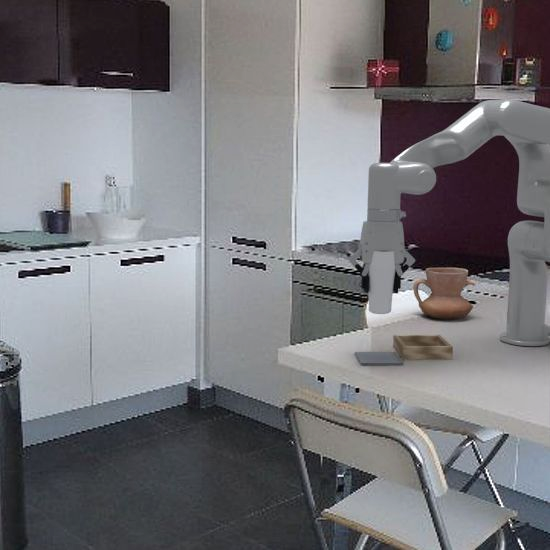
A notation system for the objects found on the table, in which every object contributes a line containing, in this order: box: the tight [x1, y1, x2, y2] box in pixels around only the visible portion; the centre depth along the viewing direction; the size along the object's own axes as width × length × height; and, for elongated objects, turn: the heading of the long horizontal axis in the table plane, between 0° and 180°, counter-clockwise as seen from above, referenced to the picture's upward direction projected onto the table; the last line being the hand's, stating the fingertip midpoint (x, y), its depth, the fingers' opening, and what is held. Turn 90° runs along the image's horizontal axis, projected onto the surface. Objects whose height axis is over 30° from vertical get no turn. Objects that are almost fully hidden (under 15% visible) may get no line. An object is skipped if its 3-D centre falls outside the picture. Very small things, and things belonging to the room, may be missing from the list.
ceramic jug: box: [413, 267, 477, 321], centre depth 249 cm, size 18×14×14 cm
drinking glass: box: [367, 251, 396, 315], centre depth 199 cm, size 7×7×15 cm
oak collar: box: [392, 334, 454, 360], centre depth 209 cm, size 12×12×3 cm
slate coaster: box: [354, 351, 405, 367], centre depth 203 cm, size 10×10×1 cm
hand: (380, 291), depth 200 cm, fingers closed on drinking glass, 6 cm apart
